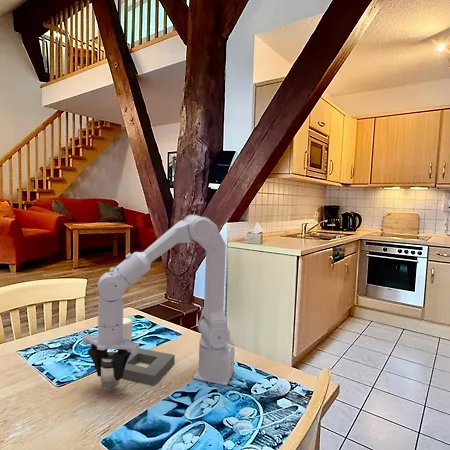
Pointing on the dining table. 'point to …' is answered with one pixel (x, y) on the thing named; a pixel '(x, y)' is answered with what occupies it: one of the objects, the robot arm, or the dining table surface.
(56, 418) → the dining table surface
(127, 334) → the white cylinder
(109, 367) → the lens
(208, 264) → the robot arm
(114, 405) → the dining table surface
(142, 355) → the square peg hole
